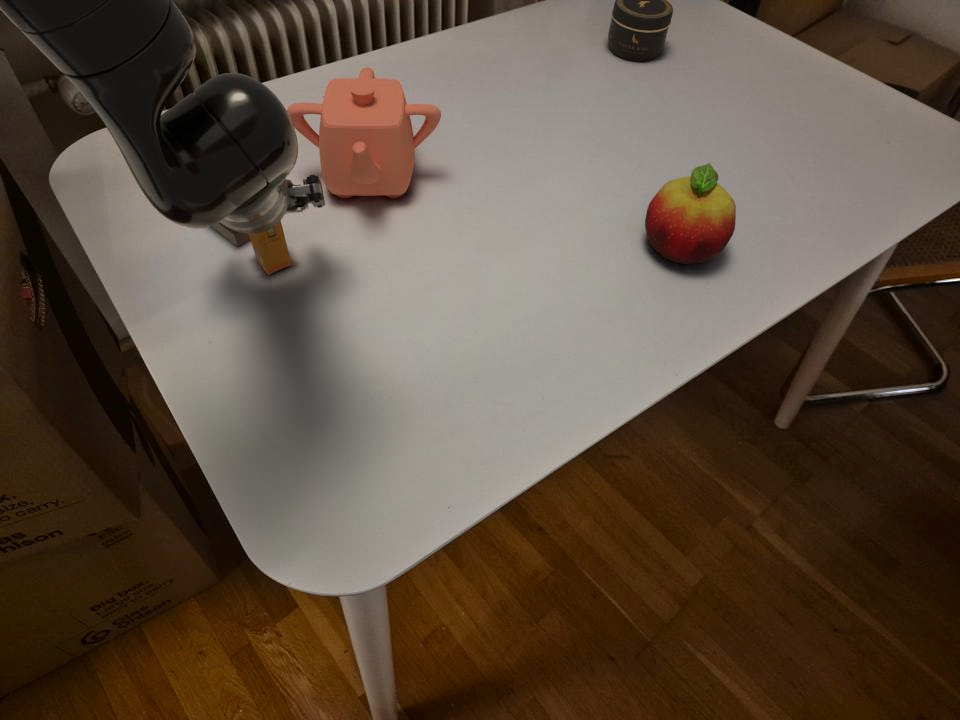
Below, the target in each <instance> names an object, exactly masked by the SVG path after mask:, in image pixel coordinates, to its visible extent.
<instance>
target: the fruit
mask: <svg viewBox="0 0 960 720" xmlns="http://www.w3.org/2000/svg"><path fill="white" fill-rule="evenodd" d="M718 181H719V174H718V172H717V171H716V169H714V167H713V166H712V164H711V163H710V162H709V163H707V164H704V165H699V166H696V167H694V168H693V170H692V171H691V174H690V175H689V176H681V177H678V178H677V177H676V178H674V179H671V180H669V181H667V182H666V183H664V184H663V185H662V187H661V188H660V189H659V190H658V191H657V192H656V194H655V195H654V196H653V197H652V199H651V200H650V202H649V203H648V206H647V209H646V215H645V220H644V229H645V233H646V235H647V239H648V241H649V243H650V245H651V246H652V247H653V249H654V250H655V251H656V252H657V254H659V255H661V256H662V257H663V258H664V259H666V260H668V261H671V262H673V263H676V264H682V265H696V264H699V263H704V262H707V261H709V260H711V259H712V258H714V257H716V256H717V255H718V254H720V253H722V251H723V250H724V249H725V248H726V247H727V245H728V243H729V242H730V241H731V239H732V237H733V235H734V233H735V230H736V219H737V207H736V203H735V200H734V199H733V197H732V195H731V194H730V193H729V192H728V191H727V190H726V189H725V188H724V187H723V186H722V185H721V184H719V182H718Z"/></svg>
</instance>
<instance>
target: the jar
mask: <svg viewBox="0 0 960 720" xmlns="http://www.w3.org/2000/svg"><path fill="white" fill-rule="evenodd" d="M673 14H674V7H673V5H672V4H671V3H670V1H668V0H615V1H614V4H613V7H612V11H611V20H610V24H609V29H608V34H607V40H608V41H607V42H608V43H607V44H608V47H609V49H610V51H611V52H612V53H613V54H614V55H616V56H617V57H619V58H621V59H624V60H627V61H632V62H647V61H650V60H653V59H655V58H656V57H657V56H658V55H660V52H662V49H663V48H664V45H665V42H666V39H667V35H668V31H669V28H670V26H671V23H672V18H673Z"/></svg>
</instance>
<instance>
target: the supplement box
mask: <svg viewBox="0 0 960 720" xmlns="http://www.w3.org/2000/svg"><path fill="white" fill-rule="evenodd" d="M249 237H250V240H249V241H250V244H251V247H252V249H253V253H254V256H255V259H256V261H257V263H258V265H260V267H261V268H262V270H263V271H264V273H265V274H266V275H268V276H270V275H272V274H274V273H276V272H279V271H281V270H283V269H285V268H289V267H290V266H292V264H293V263H292V260H291V256H290V251H289V248H288V243H287V240H286V236H285V232H284V229H283V224H282V219H281V220H280V221H279V222H278V223H277V224H276V225H275V226H274V227H272V228H270V229H269V230H266V231H264V232H260V233H254V234H249Z"/></svg>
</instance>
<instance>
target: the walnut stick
mask: <svg viewBox="0 0 960 720" xmlns="http://www.w3.org/2000/svg"><path fill="white" fill-rule="evenodd" d="M211 229H213V230H214V231H216V232H217V233H219V234H220V235H221V236H223V237H224V238H225V239H227V240H228V241H229V242H231V243H232V244H233V245H235V246H236V247H237V248H239V247H241V246H243V245H244V244H246V243H248V242H249V241H251V240H250V237H249V234H247V233H241V232H237V231H234V230H232V229H230V228H228V227H226V226H225V225H223V224H222V223H217V224H215V225H213V226H211Z"/></svg>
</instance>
